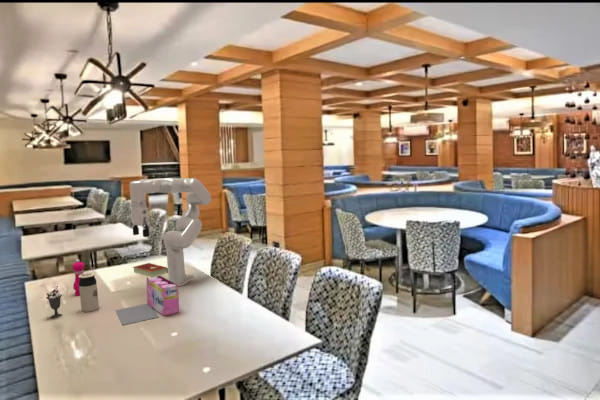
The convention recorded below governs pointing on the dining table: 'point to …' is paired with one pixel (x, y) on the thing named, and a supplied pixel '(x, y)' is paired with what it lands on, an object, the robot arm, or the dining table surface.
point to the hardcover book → (150, 269)
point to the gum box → (163, 295)
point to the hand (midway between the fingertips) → (141, 235)
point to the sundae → (54, 302)
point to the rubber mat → (136, 314)
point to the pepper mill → (77, 275)
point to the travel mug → (88, 292)
